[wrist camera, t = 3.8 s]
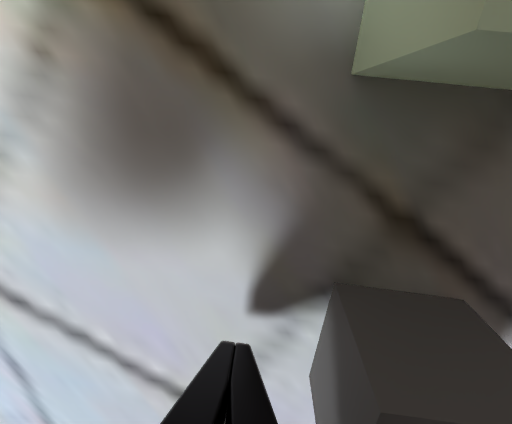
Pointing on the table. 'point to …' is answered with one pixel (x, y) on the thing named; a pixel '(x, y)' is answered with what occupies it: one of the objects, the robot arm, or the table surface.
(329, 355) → the slate grey cube
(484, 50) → the sage green block
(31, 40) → the table surface
